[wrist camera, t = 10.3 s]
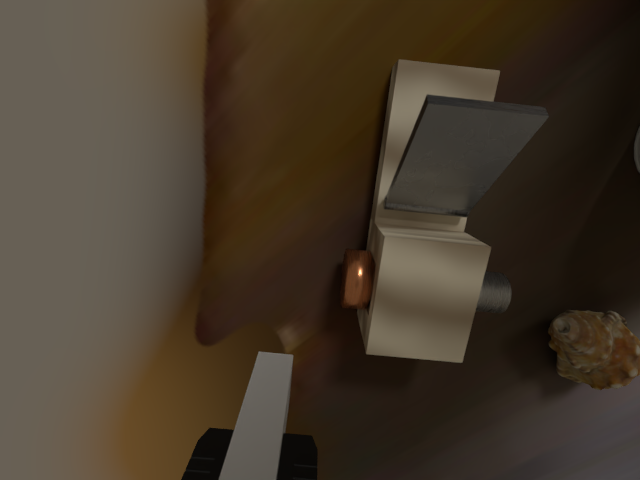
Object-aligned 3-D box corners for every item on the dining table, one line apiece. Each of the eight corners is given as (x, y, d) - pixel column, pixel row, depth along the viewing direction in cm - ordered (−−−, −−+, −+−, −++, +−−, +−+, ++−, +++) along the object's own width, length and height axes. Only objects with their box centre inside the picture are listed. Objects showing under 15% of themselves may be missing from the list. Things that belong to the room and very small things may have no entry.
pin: (345, 241, 30) (350, 259, 25) (491, 256, 31) (524, 276, 26) (339, 292, 32) (342, 318, 27) (478, 305, 32) (507, 334, 27)
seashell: (509, 347, 38) (529, 372, 28) (541, 284, 37) (572, 290, 28) (600, 392, 34) (657, 438, 25) (637, 325, 34) (709, 346, 24)
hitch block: (392, 66, 27) (416, 38, 20) (486, 77, 27) (540, 52, 20) (357, 312, 33) (366, 354, 26) (433, 319, 33) (462, 362, 26)
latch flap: (426, 92, 19) (428, 105, 18) (544, 104, 19) (549, 119, 18) (383, 200, 28) (383, 212, 27) (462, 208, 28) (464, 220, 28)
